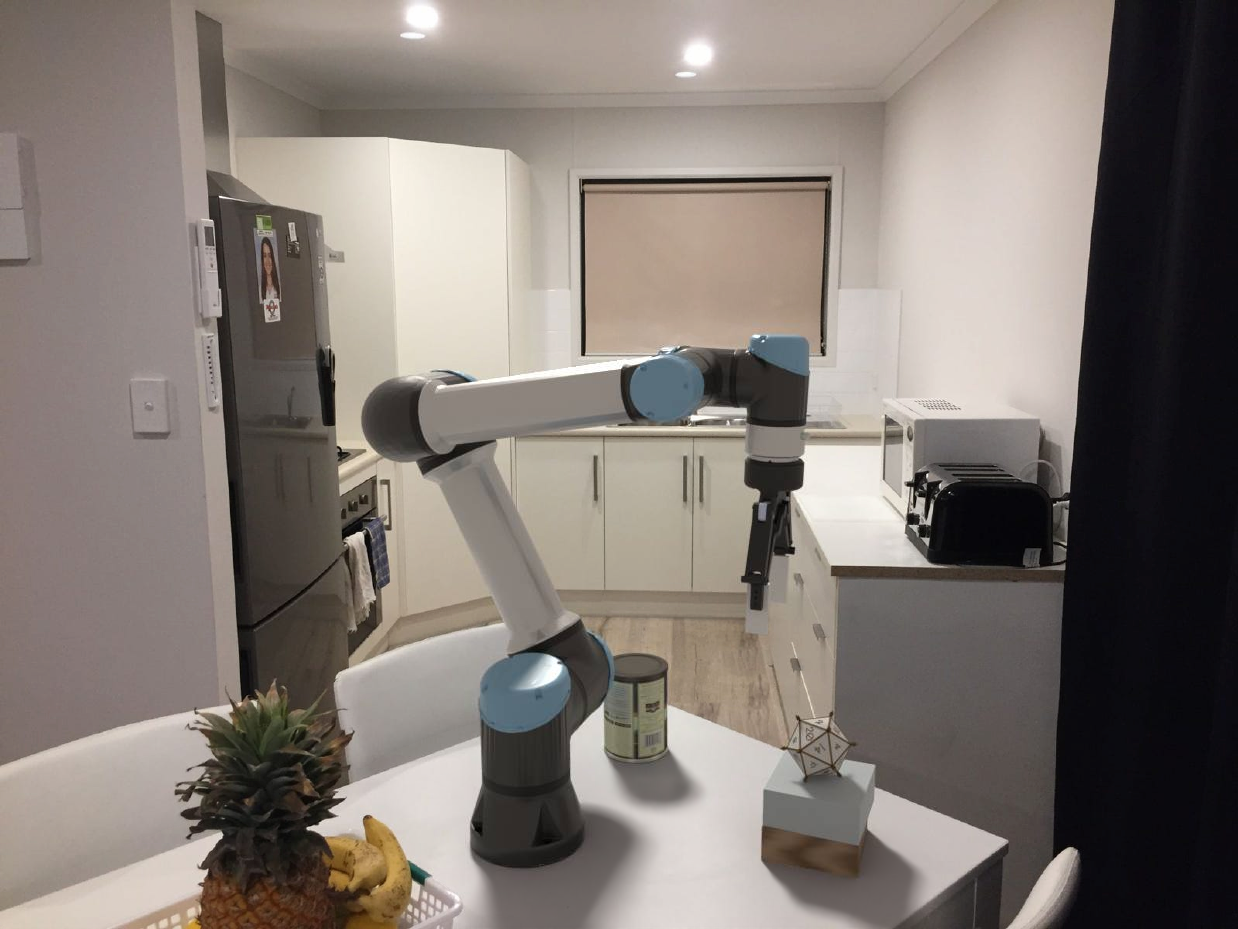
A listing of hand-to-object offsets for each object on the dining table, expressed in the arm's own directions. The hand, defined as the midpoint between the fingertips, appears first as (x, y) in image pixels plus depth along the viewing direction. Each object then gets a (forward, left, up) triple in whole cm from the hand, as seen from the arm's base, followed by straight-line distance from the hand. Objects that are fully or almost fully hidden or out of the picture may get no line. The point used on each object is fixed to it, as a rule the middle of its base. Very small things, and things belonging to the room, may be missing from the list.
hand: (767, 616), depth 131 cm
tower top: (+8, -3, -25) cm, 26 cm away
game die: (+7, -3, -20) cm, 21 cm away
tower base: (+7, -3, -30) cm, 31 cm away
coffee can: (-23, +16, -30) cm, 41 cm away
